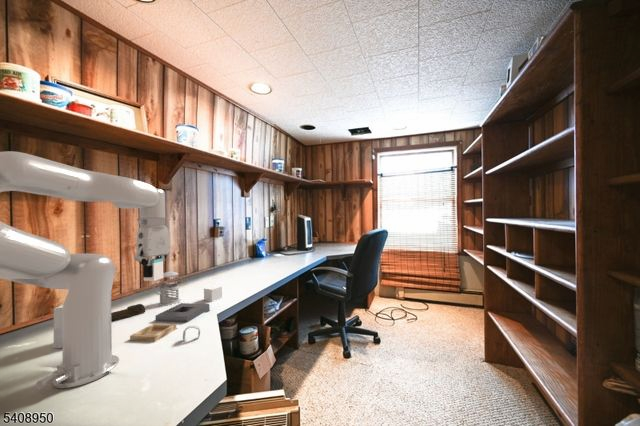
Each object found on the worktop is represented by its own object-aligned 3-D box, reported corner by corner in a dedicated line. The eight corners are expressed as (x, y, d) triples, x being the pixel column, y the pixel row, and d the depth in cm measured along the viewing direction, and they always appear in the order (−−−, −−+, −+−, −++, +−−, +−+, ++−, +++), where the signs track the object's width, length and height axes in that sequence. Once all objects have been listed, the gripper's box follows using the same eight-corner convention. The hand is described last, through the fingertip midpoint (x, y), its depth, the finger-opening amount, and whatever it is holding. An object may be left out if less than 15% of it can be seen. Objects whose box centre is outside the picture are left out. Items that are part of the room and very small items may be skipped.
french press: (183, 302, 120) (182, 251, 121) (156, 308, 112) (155, 254, 112) (177, 298, 127) (177, 250, 128) (151, 304, 119) (150, 253, 119)
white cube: (212, 302, 119) (211, 289, 119) (204, 300, 122) (203, 288, 122) (222, 298, 124) (221, 286, 125) (214, 296, 127) (213, 285, 127)
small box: (73, 347, 78) (72, 307, 79) (52, 348, 78) (52, 308, 78) (95, 335, 86) (95, 299, 87) (77, 336, 86) (76, 299, 86)
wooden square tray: (154, 344, 78) (154, 337, 78) (128, 343, 80) (128, 336, 80) (177, 330, 88) (177, 324, 88) (153, 329, 90) (153, 323, 90)
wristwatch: (183, 341, 80) (183, 326, 80) (200, 338, 82) (200, 323, 82) (182, 345, 77) (182, 329, 77) (199, 342, 79) (199, 326, 79)
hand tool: (86, 330, 92) (86, 317, 92) (85, 326, 95) (85, 315, 95) (146, 314, 106) (146, 304, 106) (144, 312, 108) (144, 302, 108)
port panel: (187, 324, 93) (187, 316, 93) (155, 323, 95) (155, 315, 95) (209, 310, 107) (209, 303, 107) (181, 309, 109) (181, 303, 109)
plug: (154, 280, 82) (153, 260, 83) (143, 280, 83) (143, 260, 83) (163, 277, 86) (163, 258, 87) (153, 277, 87) (153, 258, 87)
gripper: (140, 223, 76) (141, 282, 76) (179, 222, 93) (180, 270, 92) (120, 224, 78) (121, 281, 77) (162, 223, 94) (163, 270, 94)
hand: (153, 275), depth 85 cm, fingers closed on plug, 3 cm apart
